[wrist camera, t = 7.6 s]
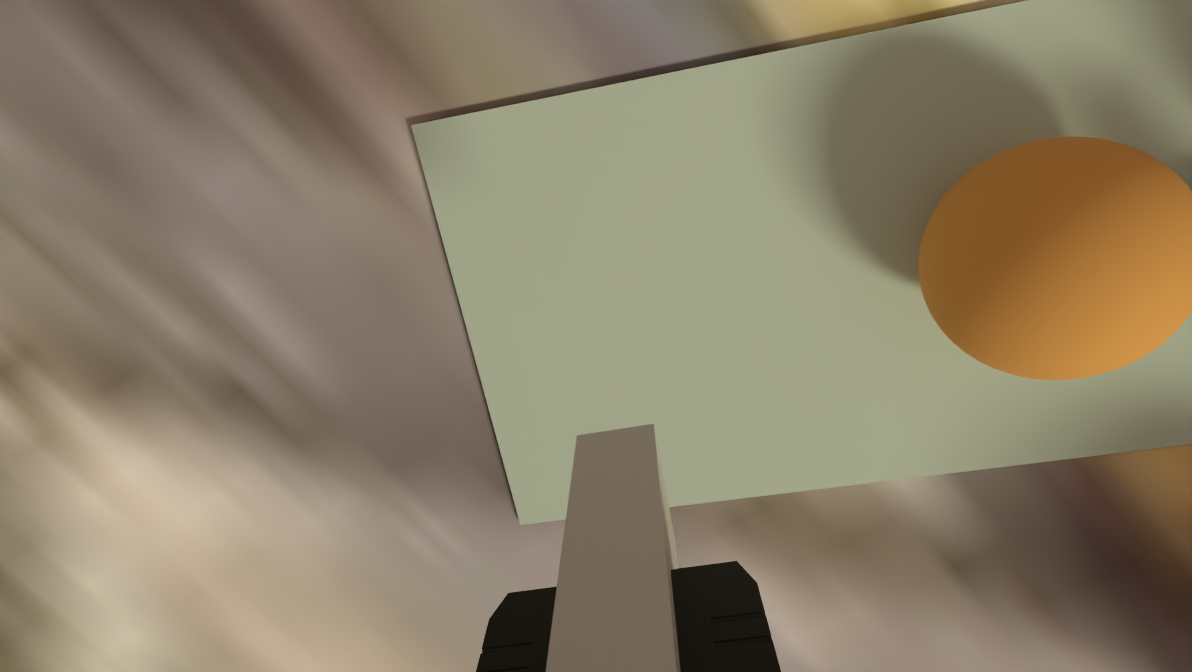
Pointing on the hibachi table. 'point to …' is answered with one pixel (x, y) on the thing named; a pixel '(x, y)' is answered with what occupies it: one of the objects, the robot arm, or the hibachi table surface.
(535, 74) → the hibachi table surface
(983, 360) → the ball
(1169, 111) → the pale green board
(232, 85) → the hibachi table surface
